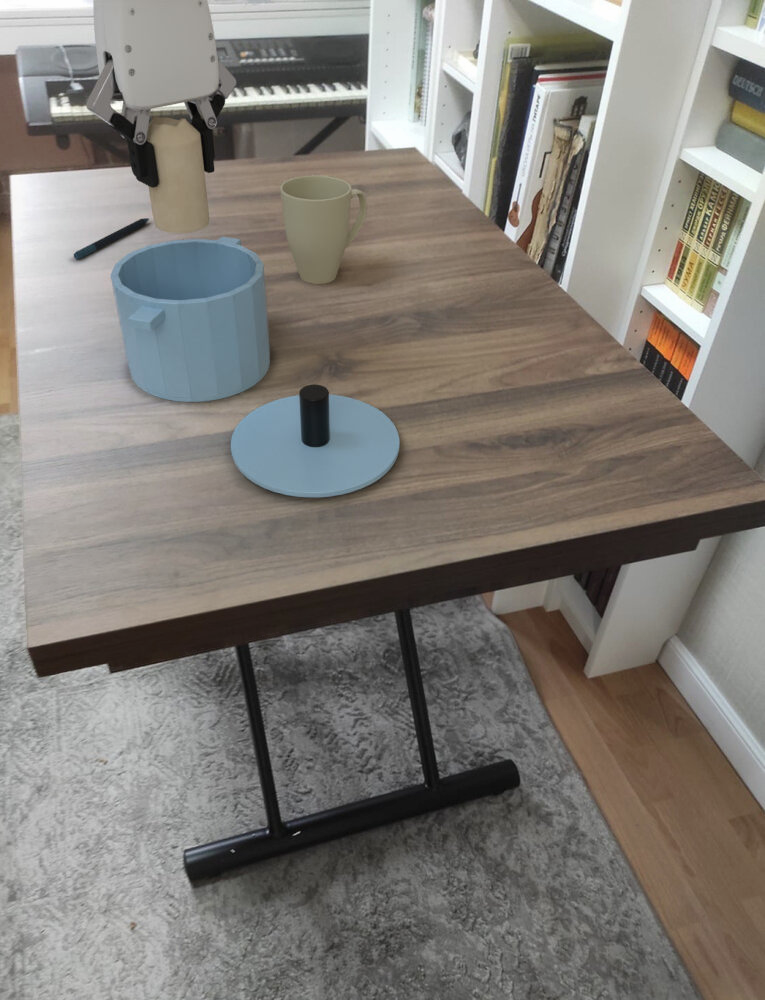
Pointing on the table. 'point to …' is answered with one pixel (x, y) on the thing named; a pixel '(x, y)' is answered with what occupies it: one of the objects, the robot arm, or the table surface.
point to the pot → (193, 318)
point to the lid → (315, 444)
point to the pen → (110, 238)
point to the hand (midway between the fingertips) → (175, 174)
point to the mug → (319, 223)
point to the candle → (178, 177)
